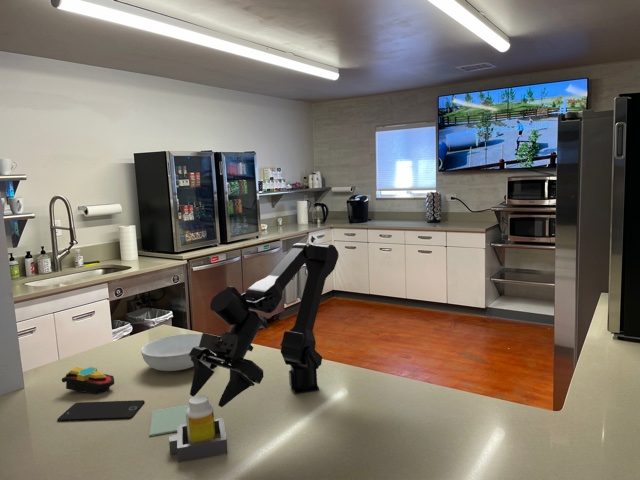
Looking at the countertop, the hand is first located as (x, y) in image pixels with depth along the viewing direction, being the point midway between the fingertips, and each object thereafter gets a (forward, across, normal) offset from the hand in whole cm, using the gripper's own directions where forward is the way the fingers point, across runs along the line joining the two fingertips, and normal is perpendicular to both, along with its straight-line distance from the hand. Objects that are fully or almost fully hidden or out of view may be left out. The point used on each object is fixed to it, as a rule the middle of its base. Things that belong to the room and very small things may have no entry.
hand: (205, 400), depth 101 cm
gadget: (+7, -49, +7) cm, 50 cm away
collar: (+8, 0, +5) cm, 9 cm away
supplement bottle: (+8, 0, +6) cm, 10 cm away
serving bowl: (-11, -43, +24) cm, 50 cm away
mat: (+4, -14, +8) cm, 17 cm away
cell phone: (+11, -34, +3) cm, 36 cm away
